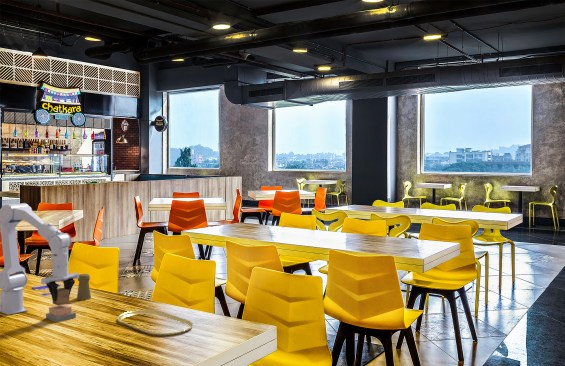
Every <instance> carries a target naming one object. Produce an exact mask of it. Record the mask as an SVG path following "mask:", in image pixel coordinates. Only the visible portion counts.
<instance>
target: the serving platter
mask: <svg viewBox="0 0 565 366" xmlns="http://www.w3.org/2000/svg"><path fill="white" fill-rule="evenodd" d="M147 314H149V315H156V316H160V317H163V318H166V317H167V319H169V318H170V319H169V320H172V319H173V321H175V320H177V321H176V322H178V321H180V322H179V323H181V322H183V323H182V324H184V323H186V324H188V325H189V326H190V328H189V327H188V328H187V329H184V330H180V331H174V332H163V333H161V332H152V331H146V330H145V329H142V328H139V327H137V326H134V325H131V324H128V323H126V322H123V321H122V320H123V319H125V318H128V317H130V316H135V315H147ZM117 321H118V322H119V323H120V324H121V325H124V326H126V327H129V328H132V329H134V330H137V331H140V332H142V333H144V334H147V335H150V336H156V335H157V336H159V337H165V336H166V337H168V336H167V335H170V336H176V335H175V334H177V335H181V334H184V333H187V332H189V330H191V329H192V327H193V322H192V321H190V320H189V319H185V318H183V317H180V316H178V315H177V316H176V315H173V314H170V313H167V312H165V311H162V310H153V309H142V310H141V309H139V310H138V309H137V310H132V311H127V312H124V313H122V314H120V315H118V316H117ZM186 324H185V325H186ZM188 325H187V326H188ZM186 331H187V332H186ZM180 333H181V334H180ZM157 336H156V337H157Z"/></svg>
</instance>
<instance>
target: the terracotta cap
mask: <svg viewBox="0 0 565 366" xmlns="http://www.w3.org/2000/svg"><path fill="white" fill-rule="evenodd" d="M71 311H72V306H70V305H67V304H64V305H59V306H58V305H54V306H49V307H48V313H49V314H52V315H54V316H61V315H65V314H70V313H71Z"/></svg>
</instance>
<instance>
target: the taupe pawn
mask: <svg viewBox="0 0 565 366" xmlns="http://www.w3.org/2000/svg"><path fill="white" fill-rule="evenodd" d="M90 279H91V275H90V274H88V273H81V274H80V273H79V278H78V279H77V281H78V286H77V295H76V300H78V301H87V300H91V299H92V294H91V289H90V288H91V287H90Z"/></svg>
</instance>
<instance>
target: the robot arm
mask: <svg viewBox="0 0 565 366" xmlns="http://www.w3.org/2000/svg"><path fill="white" fill-rule="evenodd" d="M22 221H25V222H27V223H28V224H29V225H31V226H32V227H34V228H35V229H37V233H38V235H39V236H40V237H42V238H43V239H44V240H45V241H47V243H48V246H49V247H50V251H51V254H52V275H50V276H47V277H43V278H40V282H41V283H40V284H41V285H45V286H47V287H48V288H47V289H48V290H49V293H51V294H50V295H51V299H52V302H53V301H57V289H59V287H58V283H57V282H62V283H63V288H66V289H69V296H70V295H71V291H72V288H74V285H75V283H76V280H78V278H79V275H80V273H78V272H74V273H69V247H71V245H72V242H73V241H72V237H71V236H70V234H69V233H67V232H65V233H64V232H61V230H59V229H58V228H56V227H55V226H54V224H53V223H52V222H44V221H43V220H42V219H41V218H40V217H39V216H38V215H37V214H36V213H35V212H34V211H33V209H32V207H31V206H29V204H27V203H26V202H22V203H14V204H13V203H12V204H3V206H1V208H0V236H1V245H2V247H1V248H2V255H3V265H4V267H3V268H2V269H1V270H0V289H1V292H0V313H3V314H5V315H8V316H9V315H15V314H19V313H23V312H27V311H28V309H27V308H24V289H25V286H26V285H27V284H28V276H27V273H26V268H25V267H23V266H22V265H20V257H19V249H18V248H19V247H18V239H17V231H16V230H17V229H16V227H17V226H18V225H19V223H21V222H22ZM75 279H76V280H75Z"/></svg>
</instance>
